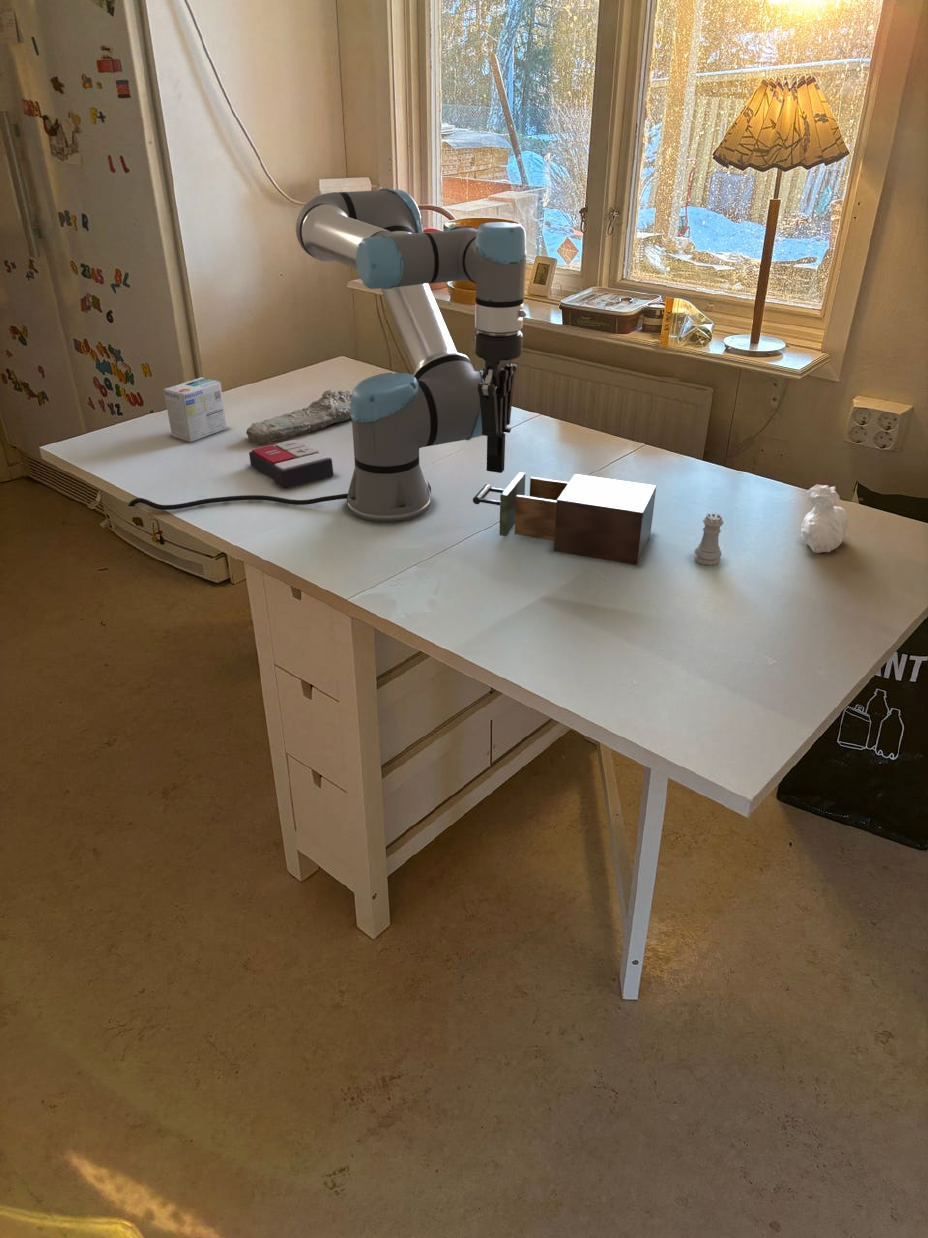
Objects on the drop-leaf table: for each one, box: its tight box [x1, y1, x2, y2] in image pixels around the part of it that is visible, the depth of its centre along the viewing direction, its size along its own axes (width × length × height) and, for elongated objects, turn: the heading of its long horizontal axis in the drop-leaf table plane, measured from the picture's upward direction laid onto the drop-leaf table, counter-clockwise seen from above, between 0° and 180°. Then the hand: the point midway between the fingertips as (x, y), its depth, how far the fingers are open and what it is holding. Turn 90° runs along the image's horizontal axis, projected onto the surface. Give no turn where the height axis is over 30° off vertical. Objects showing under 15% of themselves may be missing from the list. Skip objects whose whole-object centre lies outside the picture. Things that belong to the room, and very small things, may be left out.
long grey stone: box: [246, 389, 352, 446], centre depth 204 cm, size 35×5×10 cm
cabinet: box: [553, 473, 657, 566], centre depth 152 cm, size 14×12×9 cm
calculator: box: [248, 439, 334, 490], centre depth 180 cm, size 11×4×15 cm
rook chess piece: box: [693, 512, 724, 567], centre depth 147 cm, size 4×4×8 cm
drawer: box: [472, 471, 570, 542], centre depth 156 cm, size 19×10×8 cm, turn 69°
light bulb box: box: [163, 376, 228, 443], centre depth 197 cm, size 11×7×11 cm, turn 144°
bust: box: [800, 484, 849, 554], centre depth 153 cm, size 12×8×11 cm
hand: (495, 470), depth 155 cm, fingers closed
